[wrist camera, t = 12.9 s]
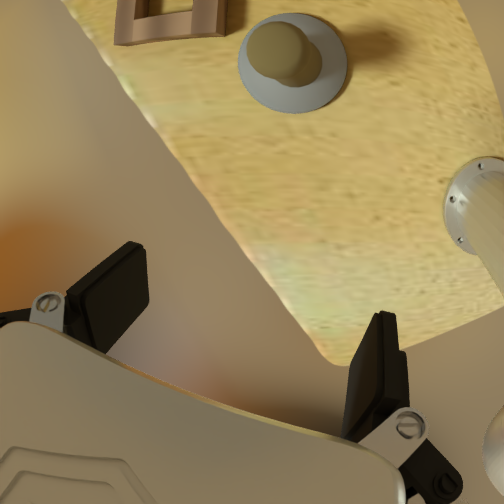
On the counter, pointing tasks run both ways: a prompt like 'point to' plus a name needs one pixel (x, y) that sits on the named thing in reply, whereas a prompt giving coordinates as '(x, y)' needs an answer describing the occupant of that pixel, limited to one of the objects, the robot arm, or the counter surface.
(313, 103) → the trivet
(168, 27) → the frame
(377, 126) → the counter surface
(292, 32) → the cork
